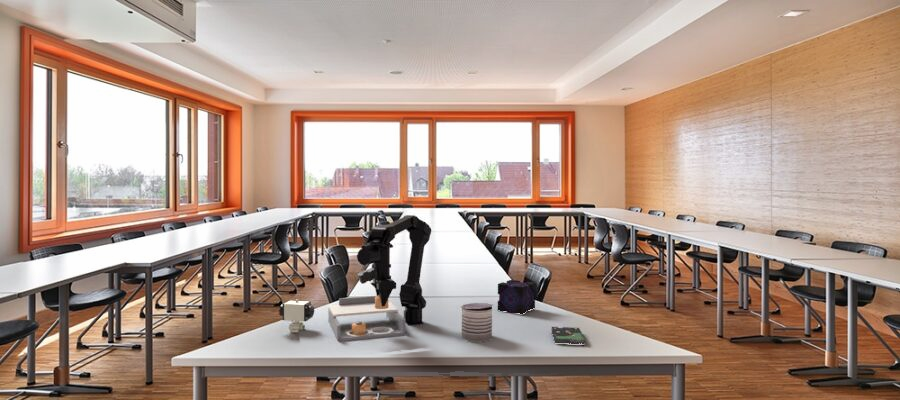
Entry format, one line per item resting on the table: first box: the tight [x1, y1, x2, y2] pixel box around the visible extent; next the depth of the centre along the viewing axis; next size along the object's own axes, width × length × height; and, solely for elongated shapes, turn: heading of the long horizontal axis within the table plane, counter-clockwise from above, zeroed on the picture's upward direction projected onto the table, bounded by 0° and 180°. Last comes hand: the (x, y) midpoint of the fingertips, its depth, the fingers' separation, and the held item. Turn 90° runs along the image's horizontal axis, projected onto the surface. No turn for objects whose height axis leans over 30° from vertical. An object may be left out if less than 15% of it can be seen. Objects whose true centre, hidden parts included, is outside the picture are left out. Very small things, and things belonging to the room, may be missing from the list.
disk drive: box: [551, 326, 586, 344], centre depth 177 cm, size 10×3×15 cm
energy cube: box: [497, 279, 536, 314], centre depth 217 cm, size 12×12×12 cm
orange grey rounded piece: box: [374, 294, 389, 309], centre depth 179 cm, size 5×5×5 cm
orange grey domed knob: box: [351, 320, 367, 335], centre depth 176 cm, size 5×5×5 cm
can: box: [460, 302, 494, 343], centre depth 178 cm, size 11×11×12 cm
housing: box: [327, 307, 406, 342], centre depth 185 cm, size 24×27×6 cm
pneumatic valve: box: [278, 298, 315, 334], centre depth 183 cm, size 6×12×12 cm, turn 83°
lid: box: [328, 295, 399, 318], centre depth 190 cm, size 24×14×3 cm, turn 110°
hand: (381, 304), depth 179 cm, fingers closed on orange grey rounded piece, 5 cm apart
